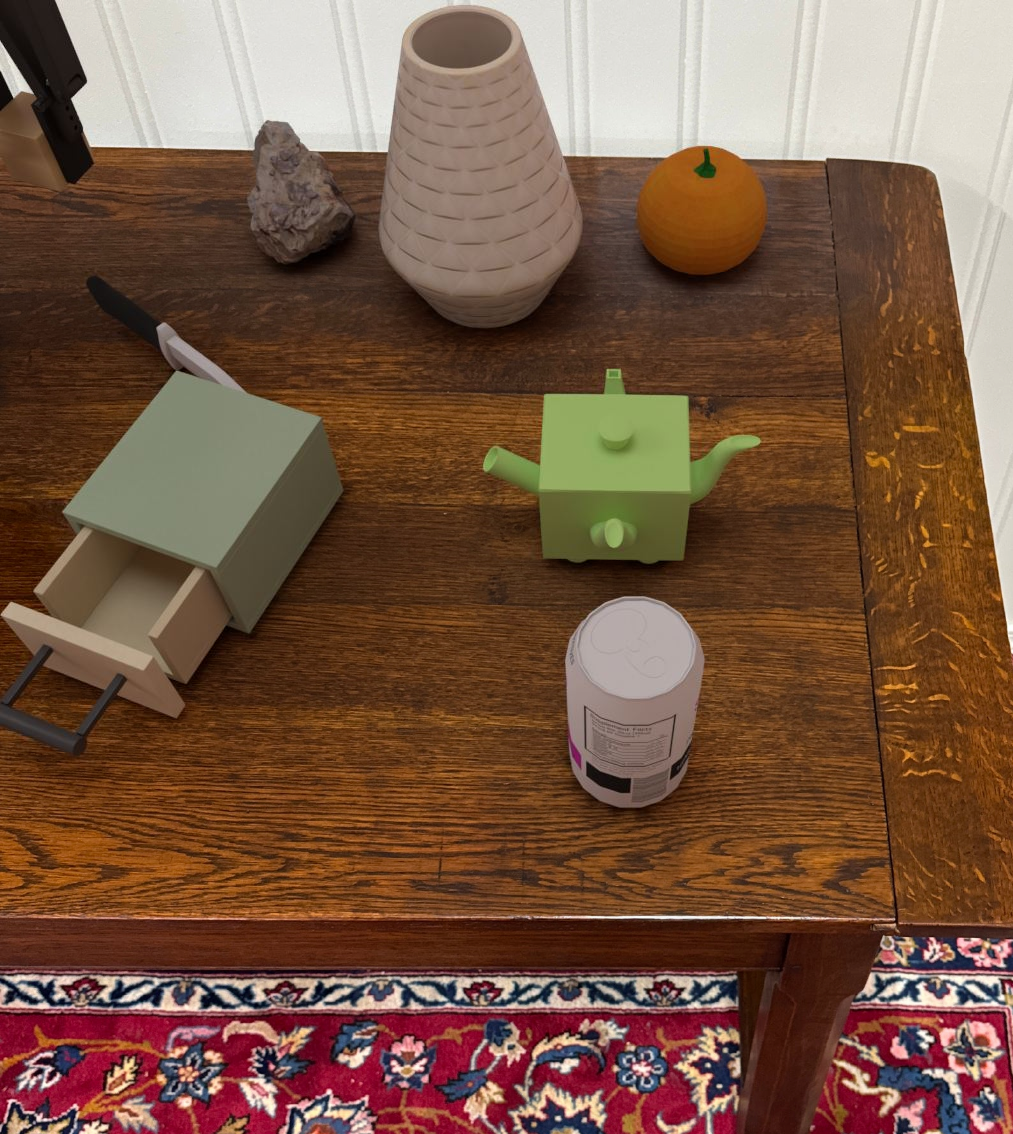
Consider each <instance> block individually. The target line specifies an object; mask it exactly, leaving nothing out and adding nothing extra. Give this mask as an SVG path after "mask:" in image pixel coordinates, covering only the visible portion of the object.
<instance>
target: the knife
mask: <svg viewBox="0 0 1013 1134" xmlns="http://www.w3.org/2000/svg"><path fill="white" fill-rule="evenodd" d="M85 285H86V288H87V289H88V291H89V293H90V295H91V296H92V298H93V299H94V301H95V302H96V303H97V305H98V307H100V309H101V310H102V311H103V312H105V313H106V314H107V315H109V316H111V317H112V318H114V319H115V320H117V322H119V323H121V324H122V325H124V326H125V327H126V328H127V329H128V330H130V331H131V332H133V333H134V334H135V335H136V336H138V337H139V338H141V339H142V340H143V341H145V342H146V343H148V344H149V345H151V346H152V347H153V348H154V349H156V350H157V351H159V352H160V353H161V354H162V355H163V356H164V358H165V360H166V361H167V362H168V364H169V365H170V366H171V367H172V369H174V370H175V371H180V370H181V369H183V368H185V369H186V370H188V371H189V372H190V373H192V374H194V376H195V377H198V378H202V379H205V380H208V381H211V382H214V383H217V384H220V385H223V386H226V387H229V388H233V389H236V390H239V391H242V392H245V393H247V392H246V391H245V390H244V389H243V388H242V387H241V386H240V385H239V384H238V383H237V382H236V381H235V380H234V379H233V378H232V377H231V376H230V375H229V374H228V373H226V372H225V371H224V370H223V369H222V368H220V367H219V366H218V365H217V364H215V362H213V361H211V360H210V359H209V358H207V357H206V356H204V355H203V354H202V353H200V352H199V351H198V350H197V349H195V348H194V347H192V345H190V344H189V343H187V342H186V341H184V340H183V339H182V338H181V337H180V335H179V334H178V333H177V332H176V331H175V330H174V329H173V327H171V325H170V324H167V322H162V323H160V322H159V321H158V320H157V319H156V318H155V317H153V316H152V315H151V314H150V313H148V312H147V311H145V310H144V309H143V308H142V307H141V306H139V305H138V304H136V303H135V302H134V301H132V300H131V299H130V298H129V297H127V296H126V295H125V294H123V293H122V292H120V291H119V290H117V289H116V288H114V287H113V286H111V285H110V284H109V283H108V282H106V281H105V280H104V279H103V278H101V277H100V276H98V275H90V276H89V277H87V279H86V281H85Z"/></svg>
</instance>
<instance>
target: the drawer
mask: <svg viewBox="0 0 1013 1134" xmlns="http://www.w3.org/2000/svg"><path fill="white" fill-rule="evenodd" d="M32 592H33V593H34V595H35V596H36V597H37V598H38V600H39V601H40V602H41V603H42V605H43V606H44V607H45V608H44V609H46V610H47V611H48V613H49V614H50V615H47V614H45V613H42V612H40V611H37V610H34V609H32V608H29V607H26V606H24V605H22V604H19V603H16V602H13V601H10V602H9V603H8V604H7V606H6V607H5V608H4V609H3V611H2V612H1V613H0V616H1V618H2V619H3V620H4V621H5V623H6V624H7V625H8V626H9V627H10V628H11V630H12V631H13V632H14V633H15V634H16V636H17V637H18V638H19V640H21V642H22V643H23V644H24V645H25V647H26V648H27V649H28V651H30V653H31V654H33V657H32V658H31V660H30V661H29V662H28V663H27V665H26V666H25V668H24V669H23V670H22V672H21V673H20V674H19V676H18V677H17V678H16V680H15V681H14V682H13V684H12V685H11V686H10V687H9V688H8V690H7V691H6V693H5V694H4V695H3V696H2V698H0V727H1V728H5V729H7V730H9V731H12V732H14V733H16V734H19V735H21V736H23V737H26V738H29V739H30V740H33V741H36V742H38V743H41V744H43V745H45V746H47V747H49V748H52V749H55V750H57V751H60V752H62V753H64V754H67V755H70V756H72V757H74V758H77V757H80V756H81V755H83V754H84V752H86V750H87V747H88V737H89V735H90V733H91V732H92V731H93V729H94V728H95V726H96V725H97V724H98V723H99V721H100V720H101V718H102V716H103V715H104V714H105V712H106V711H107V709H108V708H109V707H110V705H111V704H112V702H113V701H114V699H116V697H117V696H119V697H121V698H124V699H126V700H129V701H131V702H134V703H136V704H139V705H141V706H144V707H146V708H148V709H151V710H153V711H156V712H159V713H161V714H164V715H166V716H169V717H171V718H175V719H177V718H178V717H179V716H180V714H181V712H182V711H183V709H184V708H185V707H186V704H185V702H184V700H183V699H182V697H181V696H180V695H179V693H178V691H177V690H176V688H175V687H174V685H173V683H172V682H171V681H170V679H171V680H173V681H177V682H179V683H181V684H185V685H187V683H188V682H189V681H190V680H191V678H192V677H193V675H194V673H195V672H196V670H198V667H199V666H200V665H201V663H202V662H203V660H204V658H205V657H206V656H207V655H208V653H209V651H210V650H211V648H212V647H213V646H214V643H215V642H216V641H217V640H218V638H219V637H220V635H221V634H222V632H223V630H224V629H225V628H226V626H227V625H226V624H227V623H228V621H229V620H230V619H231V617H232V616H233V615H232V613H231V611H230V609H229V607H228V605H227V603H226V601H225V599H224V597H223V595H222V593H221V591H220V589H219V587H218V585H217V583H216V581H215V579H214V577H213V575H212V574H211V572H210V570H207V569H204V568H201V567H199V566H196V565H193V564H190V563H188V562H185V561H182V560H179V559H177V558H174V557H171V556H168V555H166V554H163V553H160V552H157V551H154V550H152V549H149V548H146V547H143V546H141V545H138V544H135V543H132V542H130V541H127V540H124V539H121V538H119V537H116V536H113V535H110V534H108V533H105V532H102V531H99V530H96V529H94V528H91V527H88V526H84V527H83V529H82V530H81V531H80V532H79V534H78V535H77V534H76V536H75V537H74V539H73V540H72V541H71V542H70V543H69V545H68V546H67V548H65V550H64V551H63V553H62V554H61V555H60V556H59V557H58V559H57V560H56V562H55V563H54V564H53V565H52V567H50V569H49V570H48V571H47V573H45V575H44V577H43V578H42V579H41V580H40V581H39V583H38V584H37V585H36V586H35V588H34V589H33V591H32ZM42 667H45V668H48V669H50V670H53V671H55V672H58V673H60V674H62V675H65V676H68V677H70V678H73V679H76V680H77V681H81V682H83V683H86V684H88V685H91V686H92V687H95V688H99V689H101V690H103V692H102V694H101V695H100V697H99V698H98V699H97V701H96V702H95V703H94V705H93V706H92V708H91V709H90V710H89V712H88V714H87V715H86V716H85V718H84V719H83V720H82V722H81V724H80V725H79V726H78V728H77V729H76V730H75V732H74V731H72V730H69V729H67V728H65V727H62V726H59V725H57V724H55V723H52V722H49V721H47V720H45V719H42V718H39V717H38V716H35V715H32V714H30V713H27V712H25V711H22V710H20V709H18V708H15V707H13V706H14V705H15V704H16V702H17V701H18V699H20V696H21V695H22V694H23V693H24V692H25V690H26V688H27V687H28V686H29V685H30V683H31V682H32V681H33V679H34V678H35V677H36V675H37V674H38V673H39V671H40V670H41V669H42Z"/></svg>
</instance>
